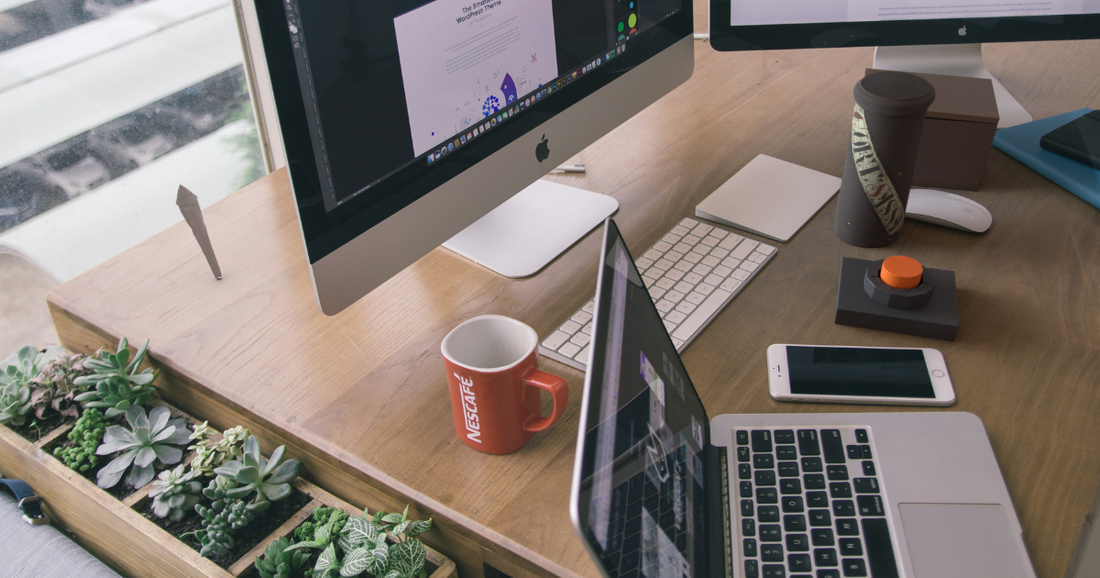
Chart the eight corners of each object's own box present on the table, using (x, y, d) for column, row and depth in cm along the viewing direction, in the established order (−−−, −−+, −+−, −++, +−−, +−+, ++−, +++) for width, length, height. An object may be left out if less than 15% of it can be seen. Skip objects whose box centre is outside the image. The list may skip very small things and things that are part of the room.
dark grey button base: (834, 324, 85) (839, 295, 83) (839, 271, 92) (844, 243, 90) (954, 342, 81) (963, 313, 79) (950, 286, 89) (958, 257, 86)
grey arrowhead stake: (210, 286, 100) (170, 192, 91) (207, 276, 102) (168, 182, 93) (230, 280, 101) (192, 186, 92) (227, 269, 103) (189, 177, 94)
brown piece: (861, 110, 103) (862, 104, 102) (864, 73, 112) (865, 67, 111) (997, 124, 98) (1000, 118, 97) (989, 84, 107) (991, 78, 107)
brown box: (854, 179, 109) (866, 114, 103) (858, 139, 118) (869, 77, 112) (977, 191, 104) (998, 124, 98) (971, 148, 113) (989, 84, 107)
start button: (879, 287, 84) (882, 274, 83) (880, 266, 87) (883, 253, 86) (919, 292, 83) (923, 279, 82) (919, 271, 86) (922, 258, 84)
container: (820, 238, 98) (844, 88, 86) (843, 205, 104) (869, 60, 92) (890, 257, 94) (926, 102, 82) (911, 221, 99) (947, 72, 87)
